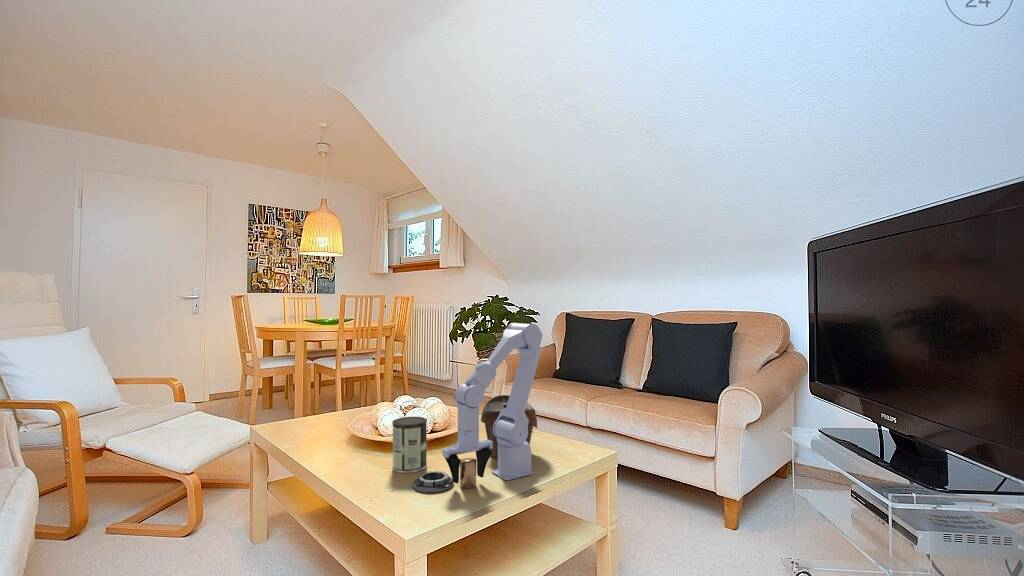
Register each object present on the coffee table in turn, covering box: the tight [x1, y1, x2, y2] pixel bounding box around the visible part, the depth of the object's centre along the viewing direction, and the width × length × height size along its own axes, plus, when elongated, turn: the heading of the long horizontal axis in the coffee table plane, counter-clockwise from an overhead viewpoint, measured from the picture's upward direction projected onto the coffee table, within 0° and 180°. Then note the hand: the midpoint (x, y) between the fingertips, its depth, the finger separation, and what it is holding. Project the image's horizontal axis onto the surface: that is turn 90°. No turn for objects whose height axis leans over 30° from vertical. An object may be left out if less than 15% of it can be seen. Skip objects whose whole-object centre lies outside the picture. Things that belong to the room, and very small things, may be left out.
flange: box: [412, 470, 455, 494], centre depth 129 cm, size 11×11×2 cm
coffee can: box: [391, 416, 428, 474], centre depth 144 cm, size 10×10×14 cm
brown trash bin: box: [480, 394, 538, 459], centre depth 156 cm, size 18×20×18 cm
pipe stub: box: [459, 457, 477, 491], centre depth 129 cm, size 4×4×7 cm
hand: (468, 479), depth 129 cm, fingers open, 7 cm apart
